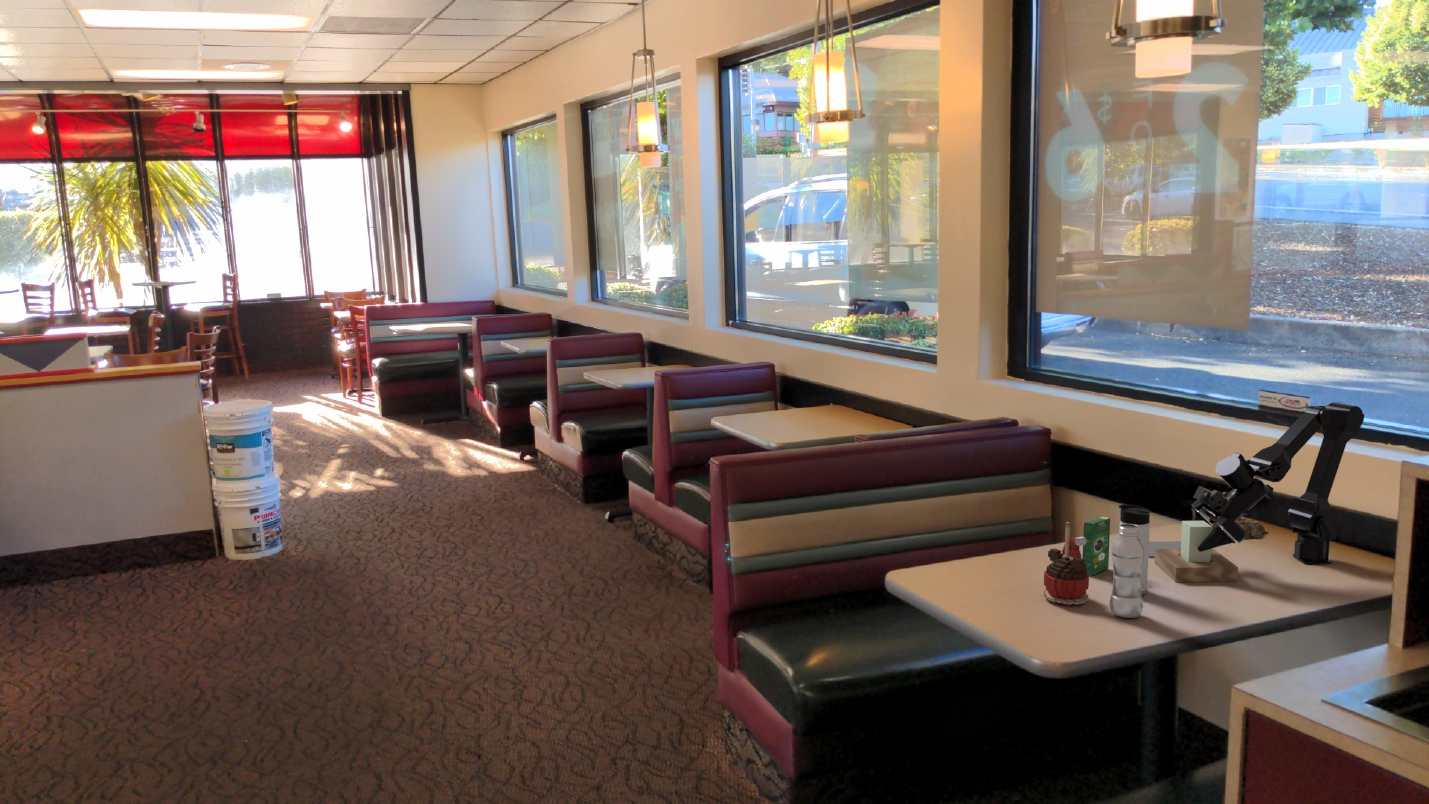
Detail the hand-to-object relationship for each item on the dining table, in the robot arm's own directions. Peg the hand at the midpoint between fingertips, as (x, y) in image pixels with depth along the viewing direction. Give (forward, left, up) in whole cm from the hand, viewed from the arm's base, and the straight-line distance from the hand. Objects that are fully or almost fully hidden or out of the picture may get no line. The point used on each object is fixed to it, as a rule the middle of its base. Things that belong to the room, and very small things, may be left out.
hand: (1190, 544), depth 246 cm
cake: (+34, +18, -7) cm, 39 cm away
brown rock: (-25, -32, -7) cm, 41 cm away
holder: (-1, 0, -7) cm, 7 cm away
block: (-1, 0, -7) cm, 7 cm away
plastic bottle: (+24, +28, -7) cm, 37 cm away
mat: (0, -17, -7) cm, 18 cm away
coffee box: (+22, -1, -7) cm, 23 cm away
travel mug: (+18, +13, -7) cm, 23 cm away
